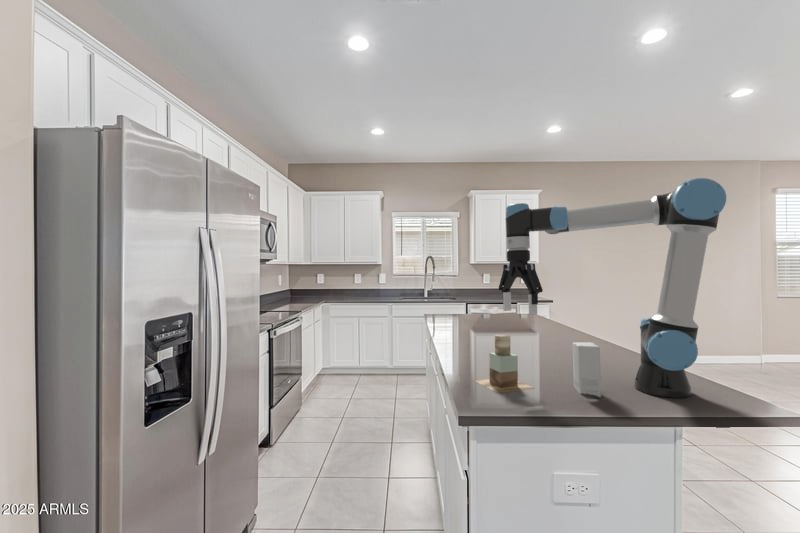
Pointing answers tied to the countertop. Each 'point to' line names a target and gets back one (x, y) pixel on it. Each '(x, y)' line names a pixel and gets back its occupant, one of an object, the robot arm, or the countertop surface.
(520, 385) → the light wood square board
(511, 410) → the countertop surface
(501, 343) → the oak cylinder
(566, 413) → the countertop surface
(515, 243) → the robot arm
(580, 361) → the skincare box
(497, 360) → the sage mid block
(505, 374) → the walnut base block
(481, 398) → the countertop surface
